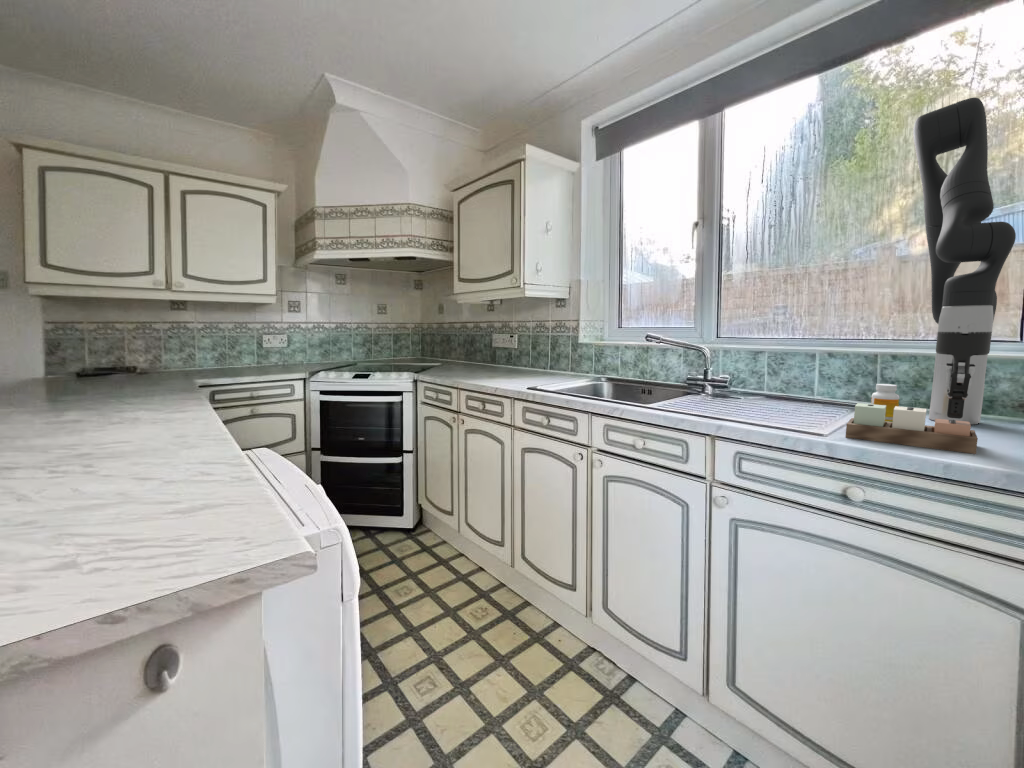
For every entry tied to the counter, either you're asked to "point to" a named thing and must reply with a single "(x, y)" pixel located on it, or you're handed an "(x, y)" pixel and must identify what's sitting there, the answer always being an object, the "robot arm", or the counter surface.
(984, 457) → the counter surface
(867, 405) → the pale green block
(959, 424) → the salmon pink block
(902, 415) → the cream block
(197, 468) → the counter surface
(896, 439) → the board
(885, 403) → the supplement bottle
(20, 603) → the counter surface
